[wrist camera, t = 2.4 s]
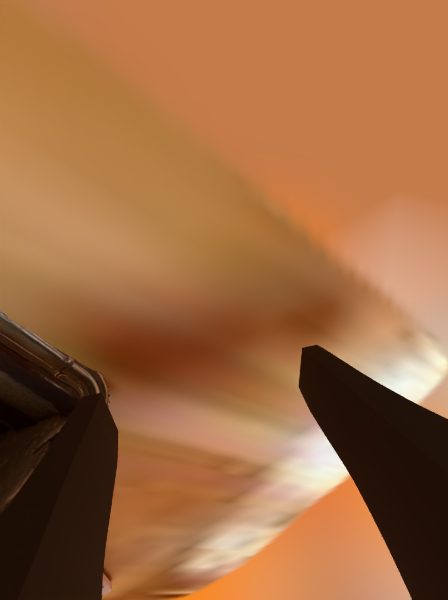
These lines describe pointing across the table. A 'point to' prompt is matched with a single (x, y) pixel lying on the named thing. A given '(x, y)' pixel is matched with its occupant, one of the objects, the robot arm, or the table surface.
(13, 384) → the chocolate cake
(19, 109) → the table surface
